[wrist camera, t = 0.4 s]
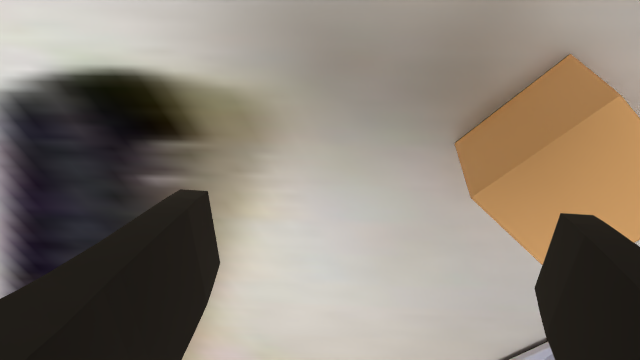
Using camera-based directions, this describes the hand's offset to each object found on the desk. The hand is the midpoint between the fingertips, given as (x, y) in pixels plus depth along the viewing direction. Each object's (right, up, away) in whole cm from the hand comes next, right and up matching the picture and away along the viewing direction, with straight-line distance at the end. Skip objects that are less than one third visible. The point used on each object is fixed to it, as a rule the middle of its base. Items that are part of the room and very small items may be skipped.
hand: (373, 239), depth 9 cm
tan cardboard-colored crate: (+8, +3, +9) cm, 12 cm away
